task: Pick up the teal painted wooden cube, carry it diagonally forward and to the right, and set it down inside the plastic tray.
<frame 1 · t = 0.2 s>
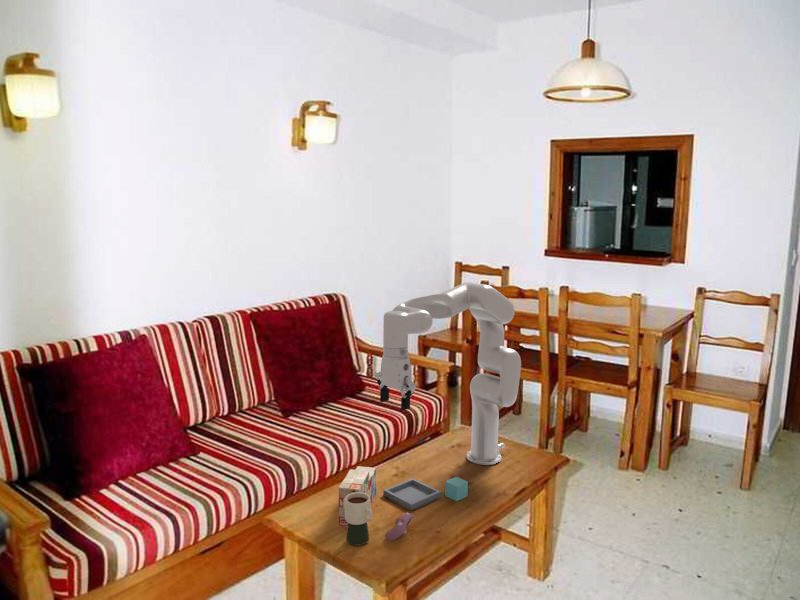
hand: (394, 405, 202), 31 cm above the table, tool pointing down, fingers open, 9 cm apart
character mug: (357, 542, 182), on the table
stack of blocks: (358, 510, 200), on the table
tray: (412, 496, 208), on the table
cube: (456, 496, 209), on the table
purple elongated lump: (400, 534, 186), on the table
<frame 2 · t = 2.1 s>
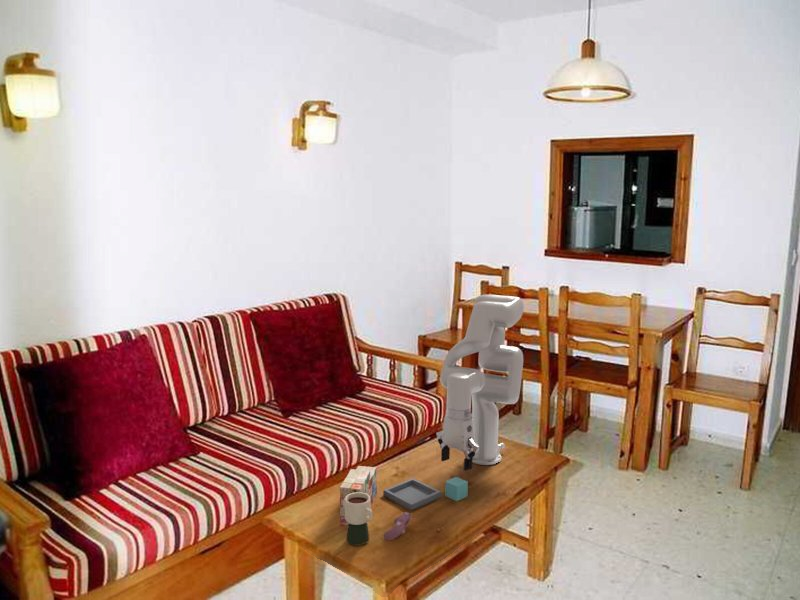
hand: (456, 464, 206), 11 cm above the table, tool pointing down, fingers open, 9 cm apart
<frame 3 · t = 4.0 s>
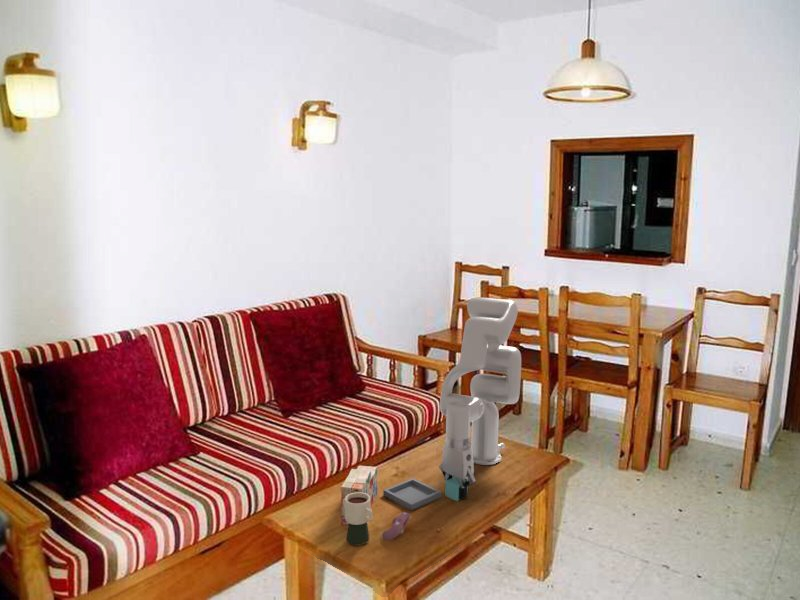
hand: (456, 494, 209), 0 cm above the table, tool pointing down, fingers closed on cube, 4 cm apart
cube: (456, 495, 209), on the table, touching gripper
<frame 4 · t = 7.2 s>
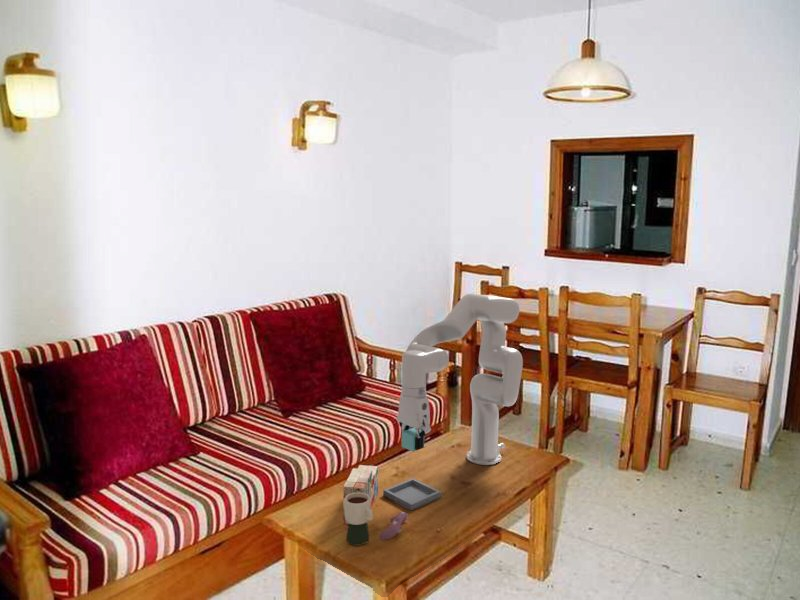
hand: (412, 445, 205), 17 cm above the table, tool pointing down, fingers closed on cube, 4 cm apart
cube: (412, 447, 205), point 17 cm above the table, touching gripper
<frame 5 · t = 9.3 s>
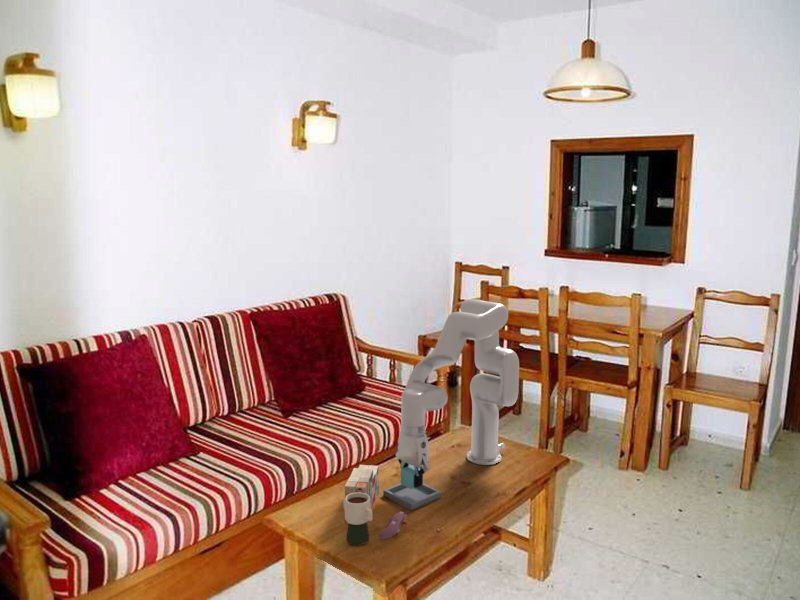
hand: (411, 482, 207), 5 cm above the table, tool pointing down, fingers closed on cube, 4 cm apart
cube: (411, 484, 207), point 4 cm above the table, touching gripper
when the fingers open (2 cm above the table, at t = 10.7 s): cube drops 1 cm, resting on tray.
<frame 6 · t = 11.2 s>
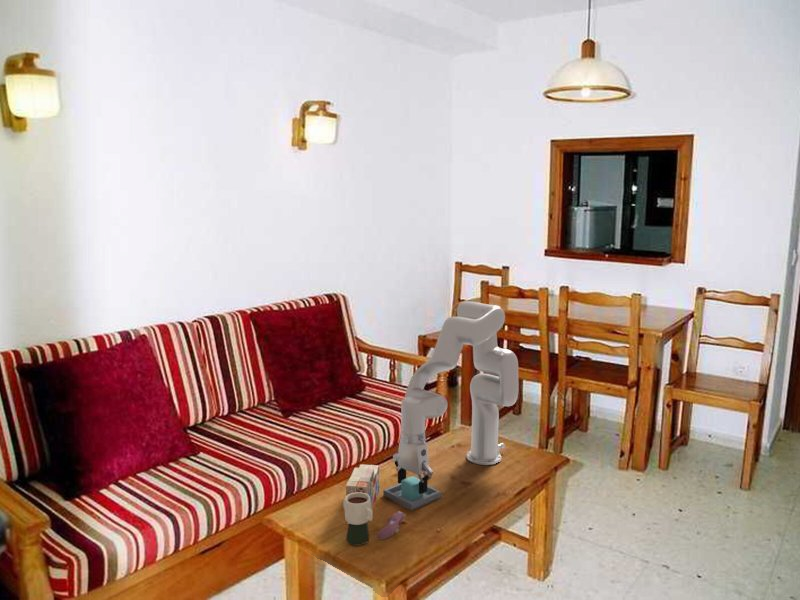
hand: (412, 487, 207), 3 cm above the table, tool pointing down, fingers open, 9 cm apart
cube: (412, 495, 208), resting on tray
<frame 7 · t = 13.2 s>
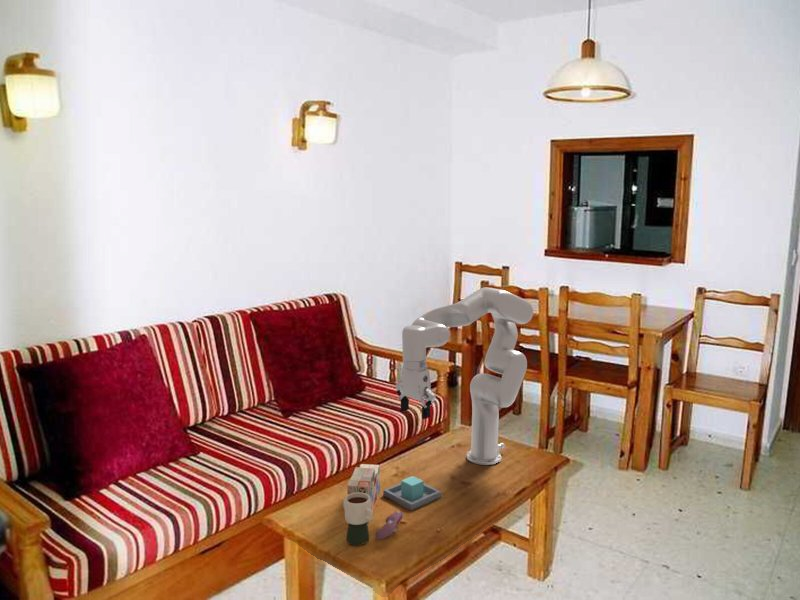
hand: (415, 414, 213), 24 cm above the table, tool pointing down, fingers open, 9 cm apart
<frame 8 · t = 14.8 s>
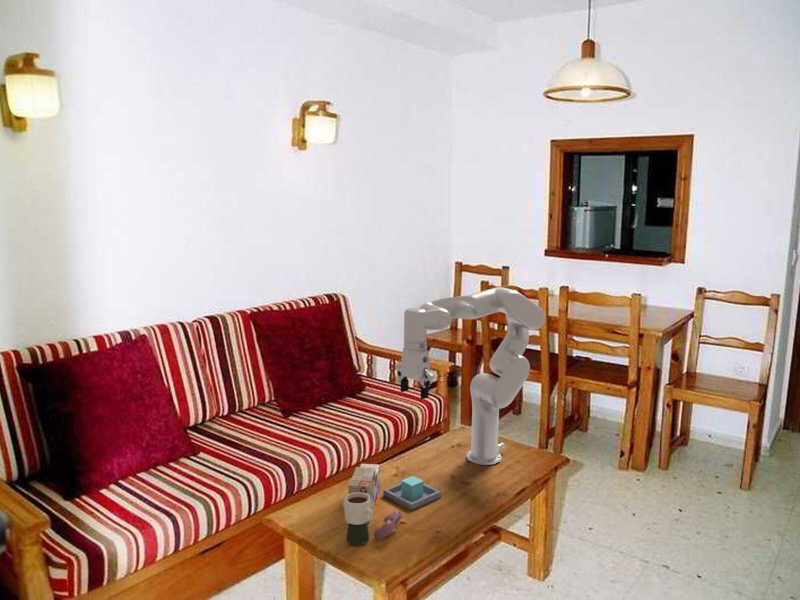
hand: (414, 394, 220), 28 cm above the table, tool pointing down, fingers open, 9 cm apart
at the end: cube inside the target area on the tray (0.0 cm from its centre), point 0.4 cm above the tray's base; cube tilted 0°; the gripper is holding nothing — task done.
